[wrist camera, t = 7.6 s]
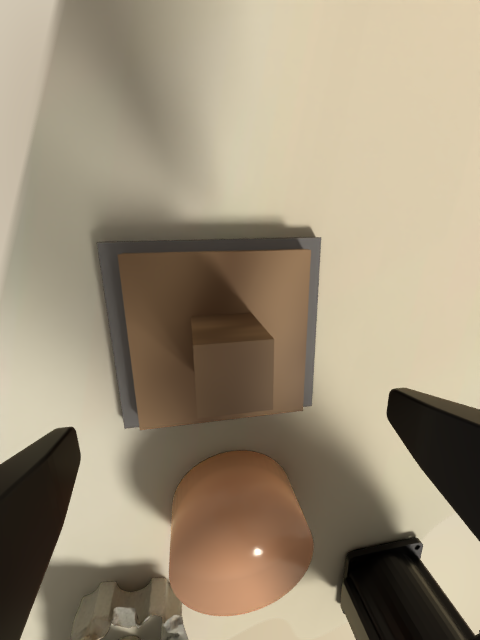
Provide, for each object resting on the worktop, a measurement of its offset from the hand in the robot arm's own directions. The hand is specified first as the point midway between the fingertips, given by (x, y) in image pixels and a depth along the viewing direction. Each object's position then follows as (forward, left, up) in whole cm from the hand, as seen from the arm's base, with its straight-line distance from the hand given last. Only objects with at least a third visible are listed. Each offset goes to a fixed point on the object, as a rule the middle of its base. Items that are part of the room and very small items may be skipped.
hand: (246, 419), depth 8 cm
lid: (0, 0, -8) cm, 8 cm away
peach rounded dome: (-1, +12, -8) cm, 15 cm away
